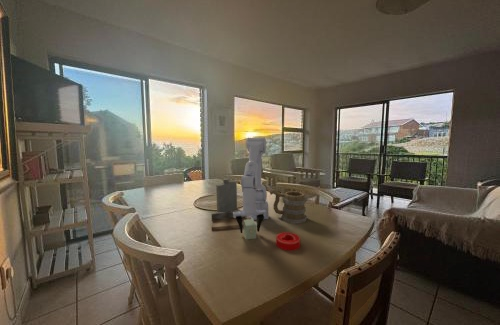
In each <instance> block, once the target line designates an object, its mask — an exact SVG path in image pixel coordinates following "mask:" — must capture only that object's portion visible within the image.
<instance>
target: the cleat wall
mask: <svg viewBox="0 0 500 325" xmlns="http://www.w3.org/2000/svg"><path fill="white" fill-rule="evenodd" d="M238 211H239V210H232V211H230V212H217V211H216V212H211V231H217V230H219V231H220V230H229V229H230V230H231V229H240V227H239V224H238V222H237V220H236V218H234V217H233V212H238ZM244 220H248V219H247V216H244V217H242V229H244Z"/></svg>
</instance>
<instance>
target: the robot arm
mask: <svg viewBox="0 0 500 325" xmlns="http://www.w3.org/2000/svg"><path fill="white" fill-rule="evenodd" d="M245 146H246V149H247V151H248V161H247V162H246V163H245V166H244V173H243V176H241V179H240V186H241V193H242V210H237V211H238V212H233V217H234V218H236V220H237V222H238V224H239V227H240V228H239V231H240V234H243V228H242V217H244V216H246V217H249V218H250V219H253V220H254V221H256V232H260V230H261V226H262V223H263V222H264V220H269V203H268V201H267V196H268V194H267V193H268V192H267V187H266V186H265V185H264V184H262V168H263V167H262V162H263V161H262V160H263V159H262V158H263V155H264V154H266V152H267V139H266V137H247V138H246V141H245Z"/></svg>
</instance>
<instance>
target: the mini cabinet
mask: <svg viewBox="0 0 500 325" xmlns="http://www.w3.org/2000/svg"><path fill="white" fill-rule="evenodd" d="M243 234H244V237H245V240H252V239H257V223H256V222H255V220H253V219H251V218H250V219H247V220H244V227H243Z"/></svg>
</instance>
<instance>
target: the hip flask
mask: <svg viewBox="0 0 500 325" xmlns="http://www.w3.org/2000/svg"><path fill="white" fill-rule="evenodd" d="M222 181H223V182H222V183H218V184H216V185H215V187H216V213H217V212H230V211H236V210H237V209H238V194H237V193H238V188H237V187H238V186H237V180H230V178H222Z"/></svg>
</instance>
